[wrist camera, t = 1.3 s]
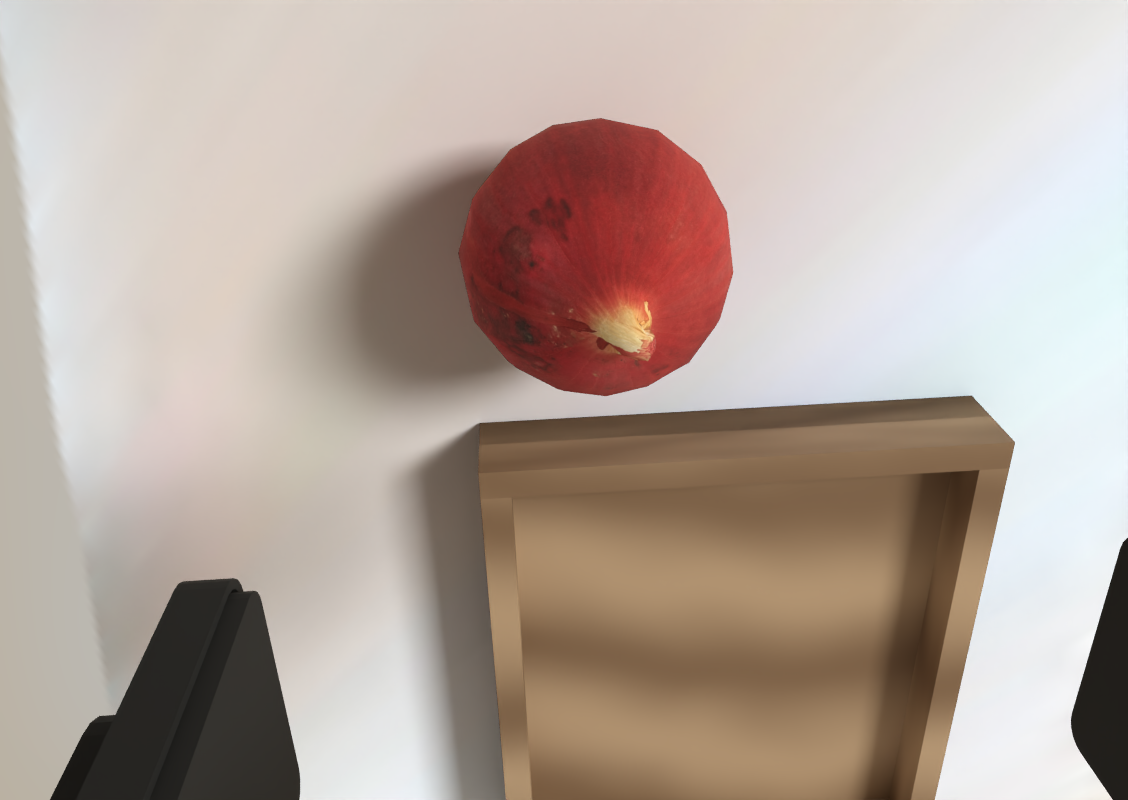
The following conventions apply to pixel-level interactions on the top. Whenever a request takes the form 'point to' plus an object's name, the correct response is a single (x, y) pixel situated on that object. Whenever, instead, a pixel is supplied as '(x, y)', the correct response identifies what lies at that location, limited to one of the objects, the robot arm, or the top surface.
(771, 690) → the walnut tray
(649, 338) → the onion
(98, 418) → the top surface
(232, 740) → the robot arm
